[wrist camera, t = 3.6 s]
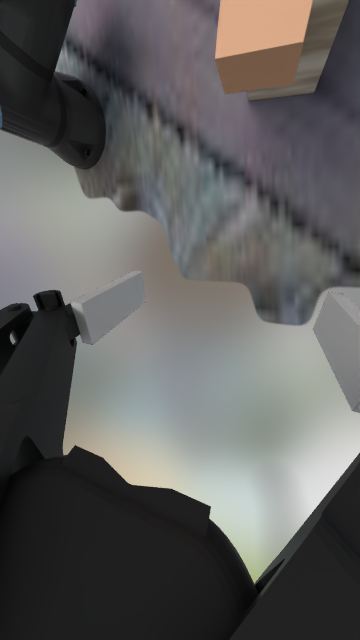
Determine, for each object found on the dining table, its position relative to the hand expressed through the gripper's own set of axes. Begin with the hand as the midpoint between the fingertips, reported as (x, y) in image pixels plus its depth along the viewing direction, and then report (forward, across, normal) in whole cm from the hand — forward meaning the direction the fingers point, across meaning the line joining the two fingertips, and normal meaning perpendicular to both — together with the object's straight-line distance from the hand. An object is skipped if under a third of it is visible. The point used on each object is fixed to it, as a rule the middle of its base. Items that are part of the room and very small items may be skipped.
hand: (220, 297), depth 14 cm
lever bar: (+5, +1, +27) cm, 28 cm away
